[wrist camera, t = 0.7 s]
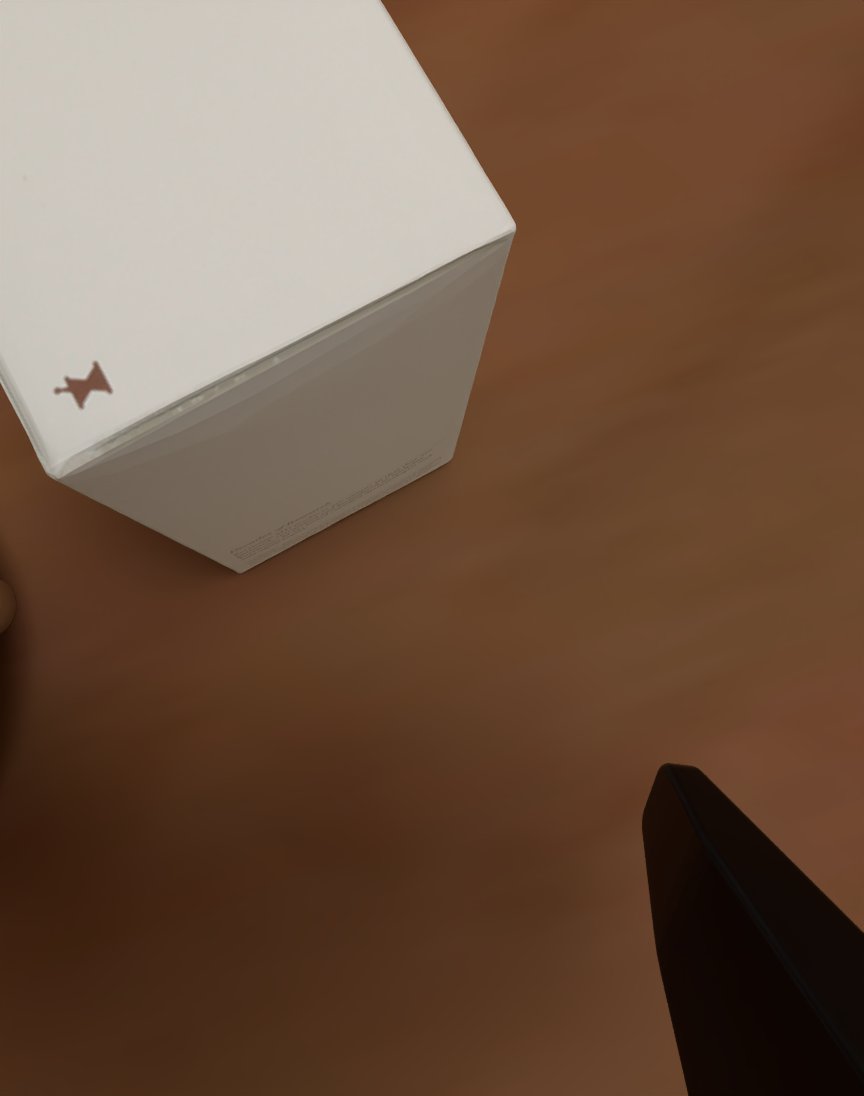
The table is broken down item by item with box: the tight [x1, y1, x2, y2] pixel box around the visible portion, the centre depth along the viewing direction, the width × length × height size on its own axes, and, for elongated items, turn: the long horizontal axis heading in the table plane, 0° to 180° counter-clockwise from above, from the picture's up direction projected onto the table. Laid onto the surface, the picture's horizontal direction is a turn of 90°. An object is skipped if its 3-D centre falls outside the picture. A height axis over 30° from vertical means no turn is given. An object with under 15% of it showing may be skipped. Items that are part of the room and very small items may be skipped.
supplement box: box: [0, 0, 516, 573], centre depth 17 cm, size 7×7×13 cm
